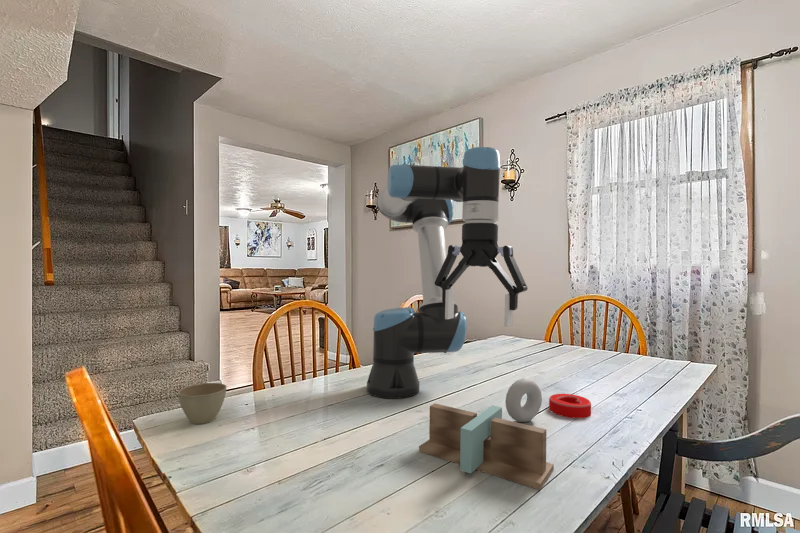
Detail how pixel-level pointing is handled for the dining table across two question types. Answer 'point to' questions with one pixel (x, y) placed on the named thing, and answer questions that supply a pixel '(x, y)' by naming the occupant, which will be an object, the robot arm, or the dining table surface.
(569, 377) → the dining table surface
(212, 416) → the olive beige bowl
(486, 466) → the jig
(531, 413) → the donut
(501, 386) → the dining table surface
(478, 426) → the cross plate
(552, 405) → the decorative ornament
